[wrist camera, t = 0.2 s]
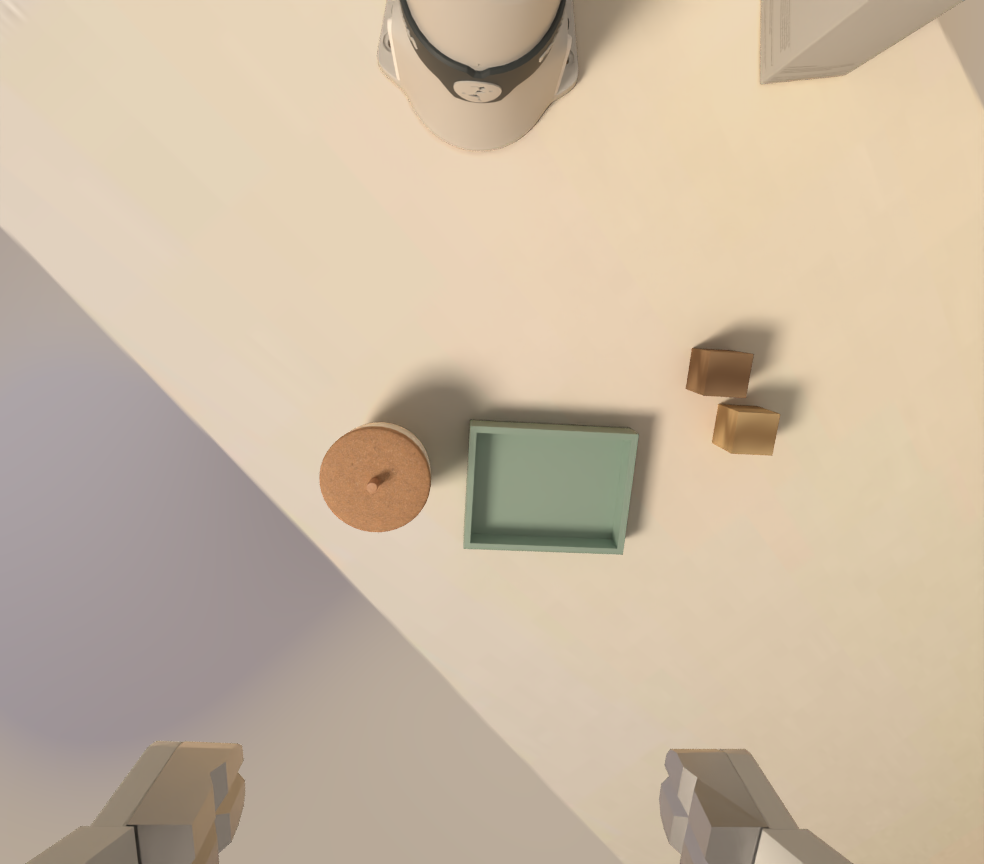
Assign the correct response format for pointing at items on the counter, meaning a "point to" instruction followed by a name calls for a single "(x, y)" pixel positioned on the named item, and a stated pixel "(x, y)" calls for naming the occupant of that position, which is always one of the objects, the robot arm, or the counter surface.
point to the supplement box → (835, 34)
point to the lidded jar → (376, 477)
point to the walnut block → (719, 372)
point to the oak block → (745, 429)
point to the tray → (548, 487)
